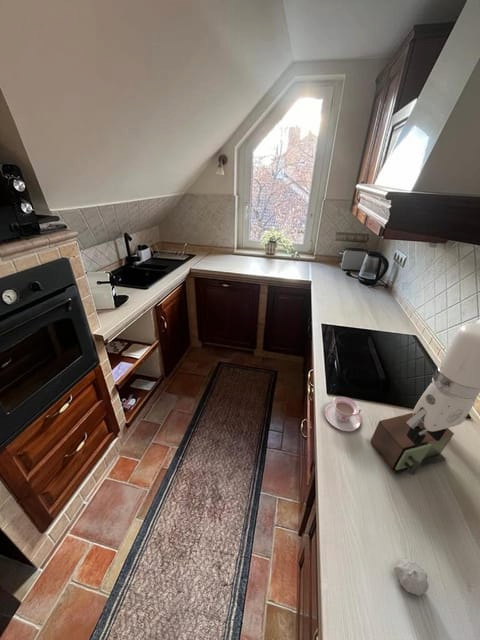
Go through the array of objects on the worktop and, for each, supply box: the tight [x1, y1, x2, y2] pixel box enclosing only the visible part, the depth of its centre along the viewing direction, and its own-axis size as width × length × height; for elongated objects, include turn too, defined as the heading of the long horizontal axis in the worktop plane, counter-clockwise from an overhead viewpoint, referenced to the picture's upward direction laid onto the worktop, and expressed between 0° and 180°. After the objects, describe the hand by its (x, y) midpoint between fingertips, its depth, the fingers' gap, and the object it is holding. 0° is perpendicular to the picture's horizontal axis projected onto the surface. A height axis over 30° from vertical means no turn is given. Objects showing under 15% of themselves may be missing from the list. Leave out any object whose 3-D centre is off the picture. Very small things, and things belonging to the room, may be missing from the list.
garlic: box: [393, 557, 430, 596], centre depth 52 cm, size 6×5×5 cm
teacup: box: [324, 396, 362, 433], centre depth 87 cm, size 12×12×6 cm
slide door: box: [395, 444, 432, 476], centre depth 70 cm, size 4×9×8 cm, turn 105°
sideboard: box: [370, 412, 455, 476], centre depth 76 cm, size 11×18×10 cm, turn 105°
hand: (422, 437), depth 60 cm, fingers open, 5 cm apart
